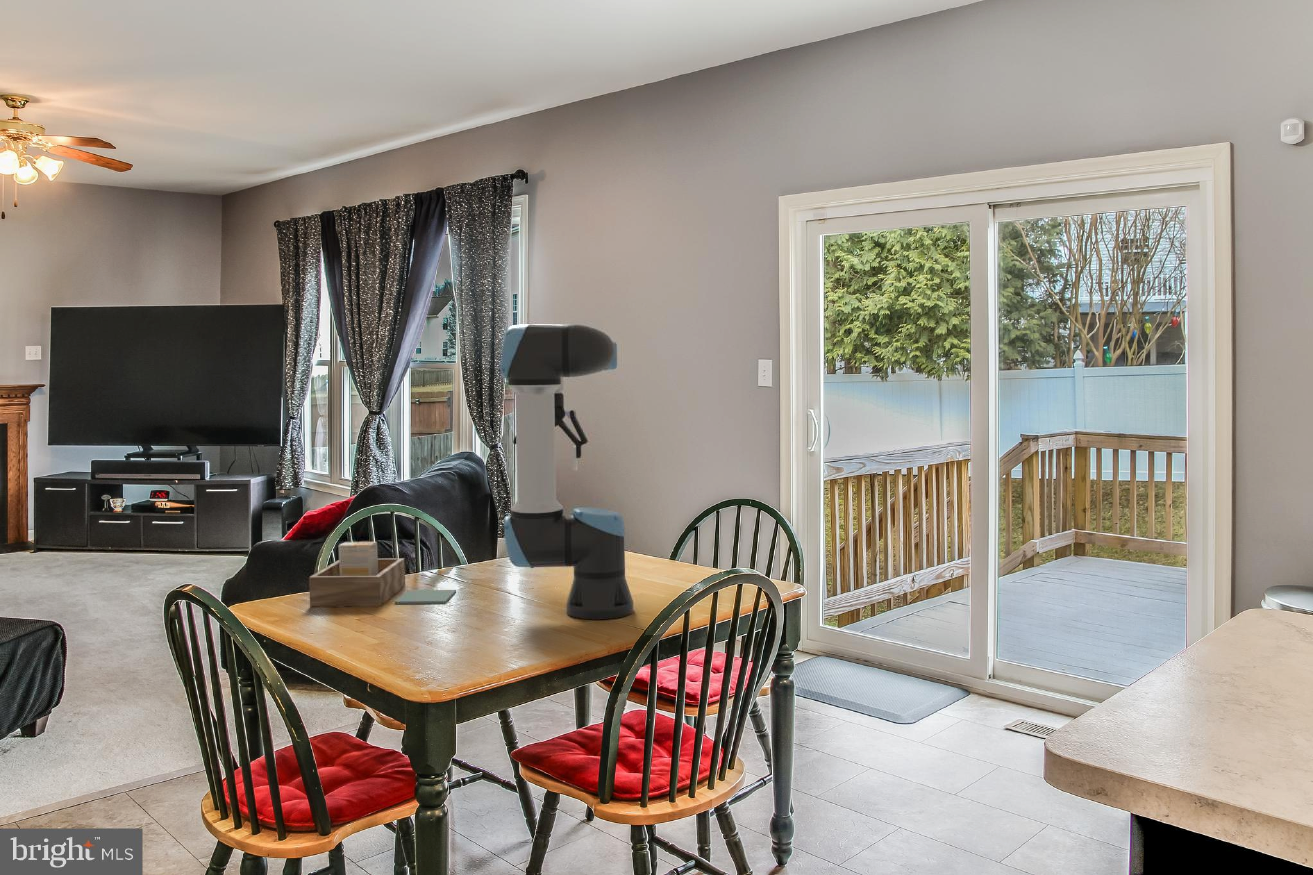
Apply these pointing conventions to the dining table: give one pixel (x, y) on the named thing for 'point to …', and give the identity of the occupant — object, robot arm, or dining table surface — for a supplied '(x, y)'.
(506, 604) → the dining table surface
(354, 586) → the crate
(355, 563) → the supplement box
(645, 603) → the dining table surface
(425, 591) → the mat
